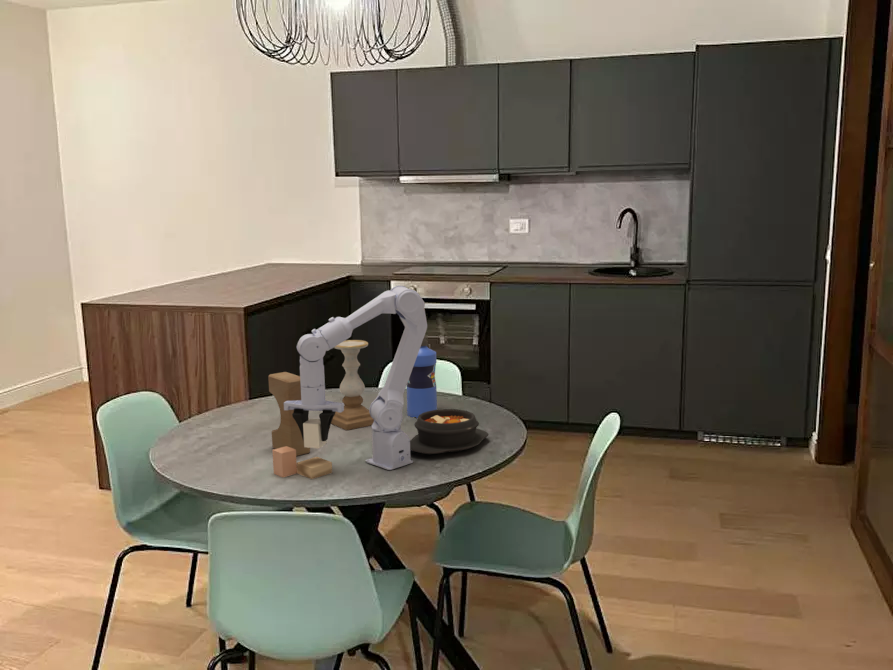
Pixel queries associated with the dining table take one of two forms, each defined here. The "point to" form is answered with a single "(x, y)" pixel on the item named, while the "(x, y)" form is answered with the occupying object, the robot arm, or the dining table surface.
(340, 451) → the dining table surface
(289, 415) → the decorative block
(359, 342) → the candle holder
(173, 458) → the dining table surface
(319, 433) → the cream cube
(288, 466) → the terracotta cube
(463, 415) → the casserole
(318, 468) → the oak block
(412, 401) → the water bottle
